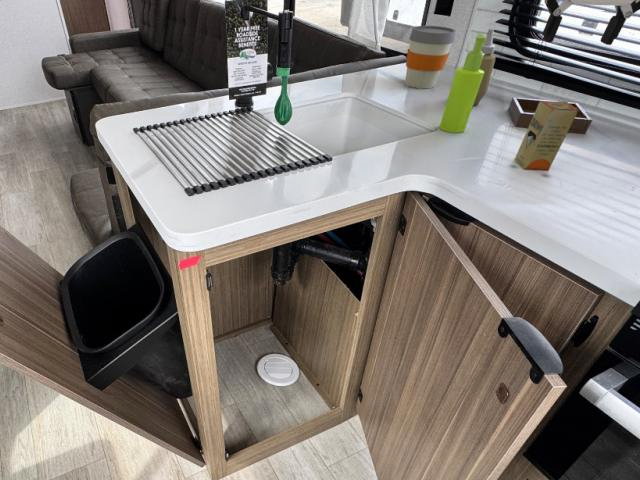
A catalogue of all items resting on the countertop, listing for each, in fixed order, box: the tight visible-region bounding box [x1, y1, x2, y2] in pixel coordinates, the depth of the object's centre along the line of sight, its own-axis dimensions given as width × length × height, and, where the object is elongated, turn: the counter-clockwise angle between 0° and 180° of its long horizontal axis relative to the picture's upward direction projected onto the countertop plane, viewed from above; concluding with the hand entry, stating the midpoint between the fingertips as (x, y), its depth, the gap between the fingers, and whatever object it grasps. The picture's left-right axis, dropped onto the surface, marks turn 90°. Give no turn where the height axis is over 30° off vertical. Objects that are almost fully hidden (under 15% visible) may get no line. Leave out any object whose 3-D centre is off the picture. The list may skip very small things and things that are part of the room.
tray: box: [507, 96, 593, 135], centre depth 111 cm, size 16×14×3 cm
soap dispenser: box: [439, 33, 486, 134], centre depth 101 cm, size 6×7×20 cm
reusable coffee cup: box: [404, 25, 457, 89], centre depth 132 cm, size 13×13×15 cm
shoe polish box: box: [514, 100, 579, 171], centre depth 87 cm, size 5×5×12 cm
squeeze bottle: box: [473, 28, 496, 106], centre depth 117 cm, size 8×8×18 cm
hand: (576, 42), depth 79 cm, fingers open, 9 cm apart
